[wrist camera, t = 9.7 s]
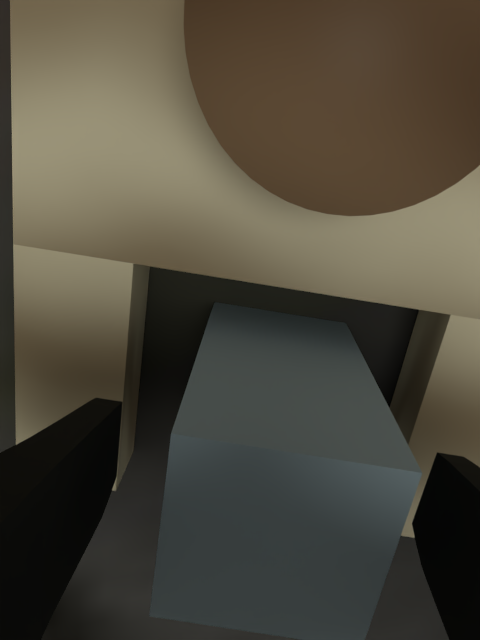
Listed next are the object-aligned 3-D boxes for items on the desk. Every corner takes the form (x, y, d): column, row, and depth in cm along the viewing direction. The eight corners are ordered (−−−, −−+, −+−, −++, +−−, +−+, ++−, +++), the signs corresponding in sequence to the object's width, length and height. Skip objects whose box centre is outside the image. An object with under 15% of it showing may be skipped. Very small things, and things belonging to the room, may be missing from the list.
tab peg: (318, 435, 15) (361, 648, 9) (198, 416, 15) (149, 616, 9) (346, 322, 14) (422, 473, 7) (214, 301, 14) (171, 433, 7)
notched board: (452, 501, 16) (533, 647, 11) (45, 437, 16) (-47, 557, 11) (690, -122, 10) (1069, -368, 5) (54, -230, 10) (-133, -579, 5)
